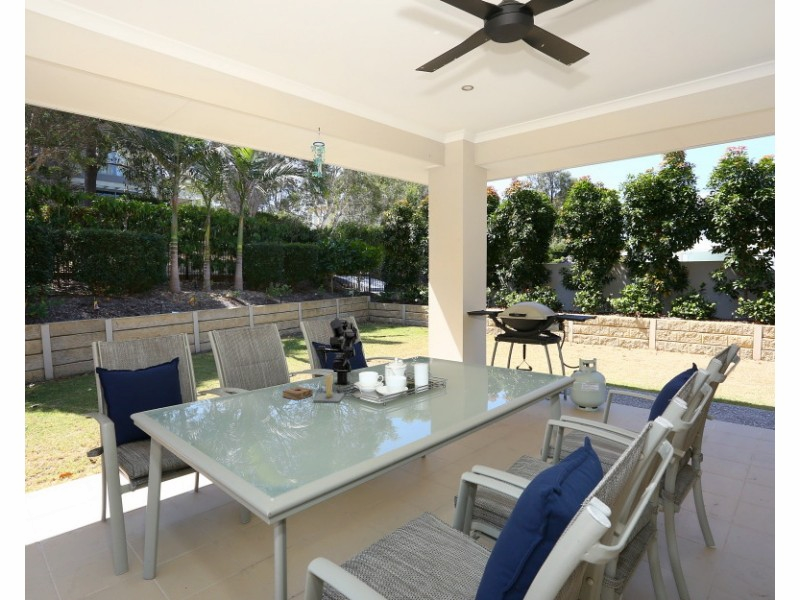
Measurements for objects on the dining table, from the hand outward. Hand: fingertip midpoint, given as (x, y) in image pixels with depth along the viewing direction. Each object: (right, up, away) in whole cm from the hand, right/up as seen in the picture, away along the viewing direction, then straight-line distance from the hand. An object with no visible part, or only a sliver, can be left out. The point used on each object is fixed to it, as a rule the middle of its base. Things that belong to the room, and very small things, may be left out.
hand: (333, 365), depth 229 cm
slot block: (-16, -14, -6) cm, 22 cm away
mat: (-1, -14, -11) cm, 18 cm away
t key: (-1, -13, -11) cm, 17 cm away
